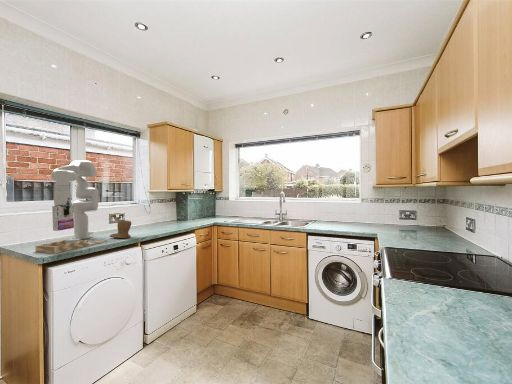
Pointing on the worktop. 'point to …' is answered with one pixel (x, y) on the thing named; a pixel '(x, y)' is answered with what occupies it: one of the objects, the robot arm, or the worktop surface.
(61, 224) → the candy bar box
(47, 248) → the wooden compartment tray
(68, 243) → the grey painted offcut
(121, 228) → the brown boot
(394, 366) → the worktop surface
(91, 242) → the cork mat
